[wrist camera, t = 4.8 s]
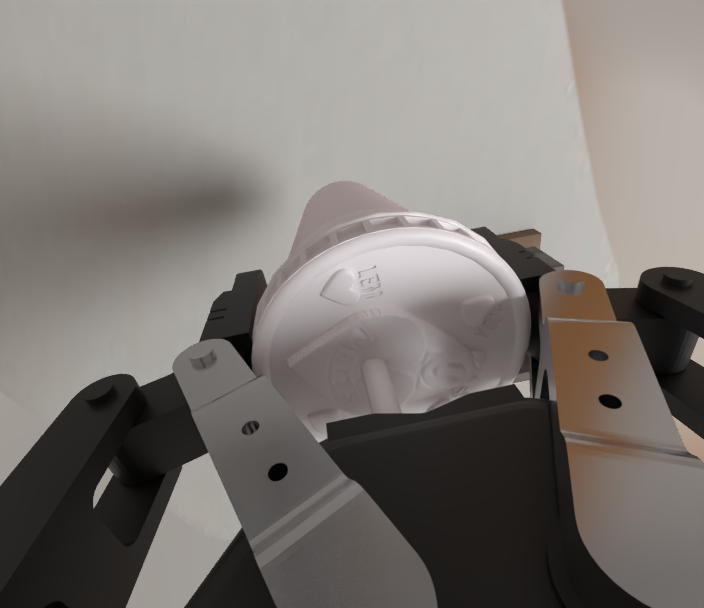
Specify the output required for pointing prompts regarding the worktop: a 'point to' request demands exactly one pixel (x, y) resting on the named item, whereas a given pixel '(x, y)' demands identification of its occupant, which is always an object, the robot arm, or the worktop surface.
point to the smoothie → (386, 312)
